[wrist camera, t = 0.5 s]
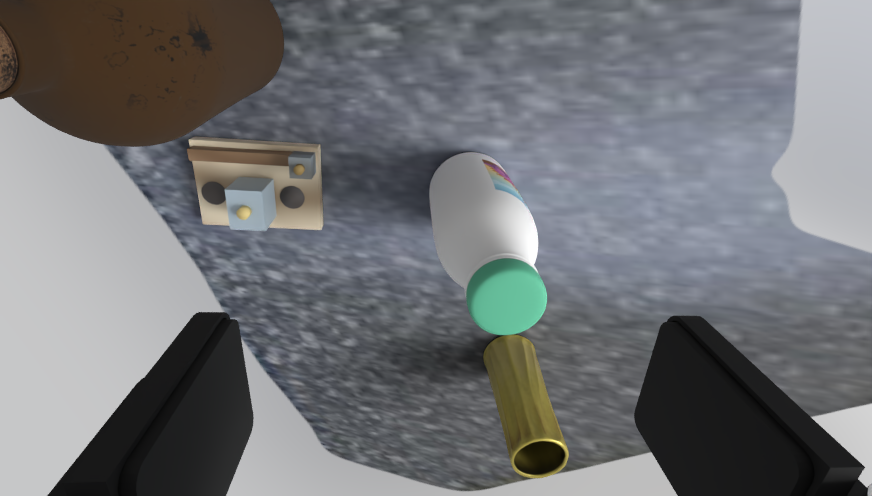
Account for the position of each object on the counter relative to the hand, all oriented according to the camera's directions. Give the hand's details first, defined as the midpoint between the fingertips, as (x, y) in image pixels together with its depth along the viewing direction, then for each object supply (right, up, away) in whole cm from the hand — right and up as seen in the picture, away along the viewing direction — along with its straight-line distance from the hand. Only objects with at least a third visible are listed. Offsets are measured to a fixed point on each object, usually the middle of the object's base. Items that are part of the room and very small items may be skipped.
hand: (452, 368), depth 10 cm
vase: (+8, -10, +43) cm, 45 cm away
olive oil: (-18, +20, +26) cm, 38 cm away
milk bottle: (+3, +8, +33) cm, 35 cm away
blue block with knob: (-17, +7, +31) cm, 36 cm away
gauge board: (-17, +9, +32) cm, 37 cm away
